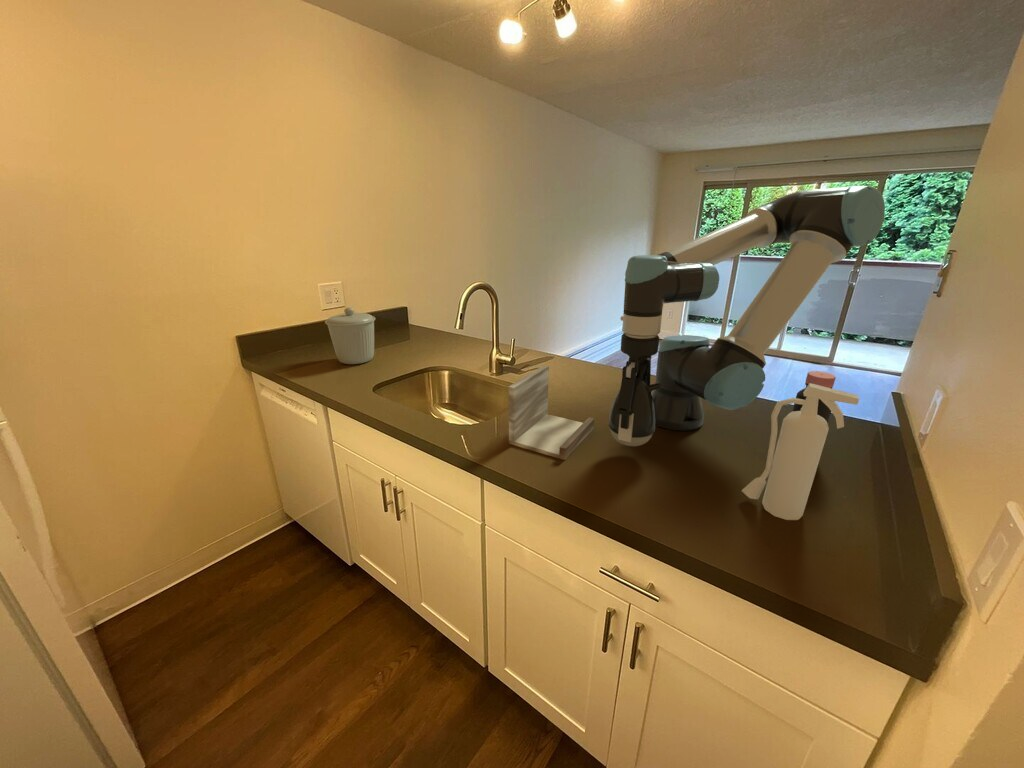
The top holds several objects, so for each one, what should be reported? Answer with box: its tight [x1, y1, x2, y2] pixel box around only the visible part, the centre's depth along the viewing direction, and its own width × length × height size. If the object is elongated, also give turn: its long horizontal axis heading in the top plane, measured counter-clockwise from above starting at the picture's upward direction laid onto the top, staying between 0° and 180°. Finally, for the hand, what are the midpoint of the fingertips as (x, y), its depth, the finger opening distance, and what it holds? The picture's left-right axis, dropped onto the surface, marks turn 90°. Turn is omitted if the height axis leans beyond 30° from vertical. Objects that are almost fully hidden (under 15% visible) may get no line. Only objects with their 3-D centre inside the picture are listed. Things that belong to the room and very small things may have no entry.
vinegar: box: [791, 370, 836, 425], centre depth 92 cm, size 7×7×20 cm
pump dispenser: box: [608, 380, 661, 447], centre depth 92 cm, size 10×10×15 cm
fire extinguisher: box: [741, 383, 860, 521], centre depth 74 cm, size 7×12×25 cm, turn 57°
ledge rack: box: [507, 365, 595, 461], centre depth 103 cm, size 15×18×15 cm
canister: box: [324, 306, 376, 365], centre depth 161 cm, size 18×18×21 cm
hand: (631, 429), depth 94 cm, fingers closed on pump dispenser, 10 cm apart
